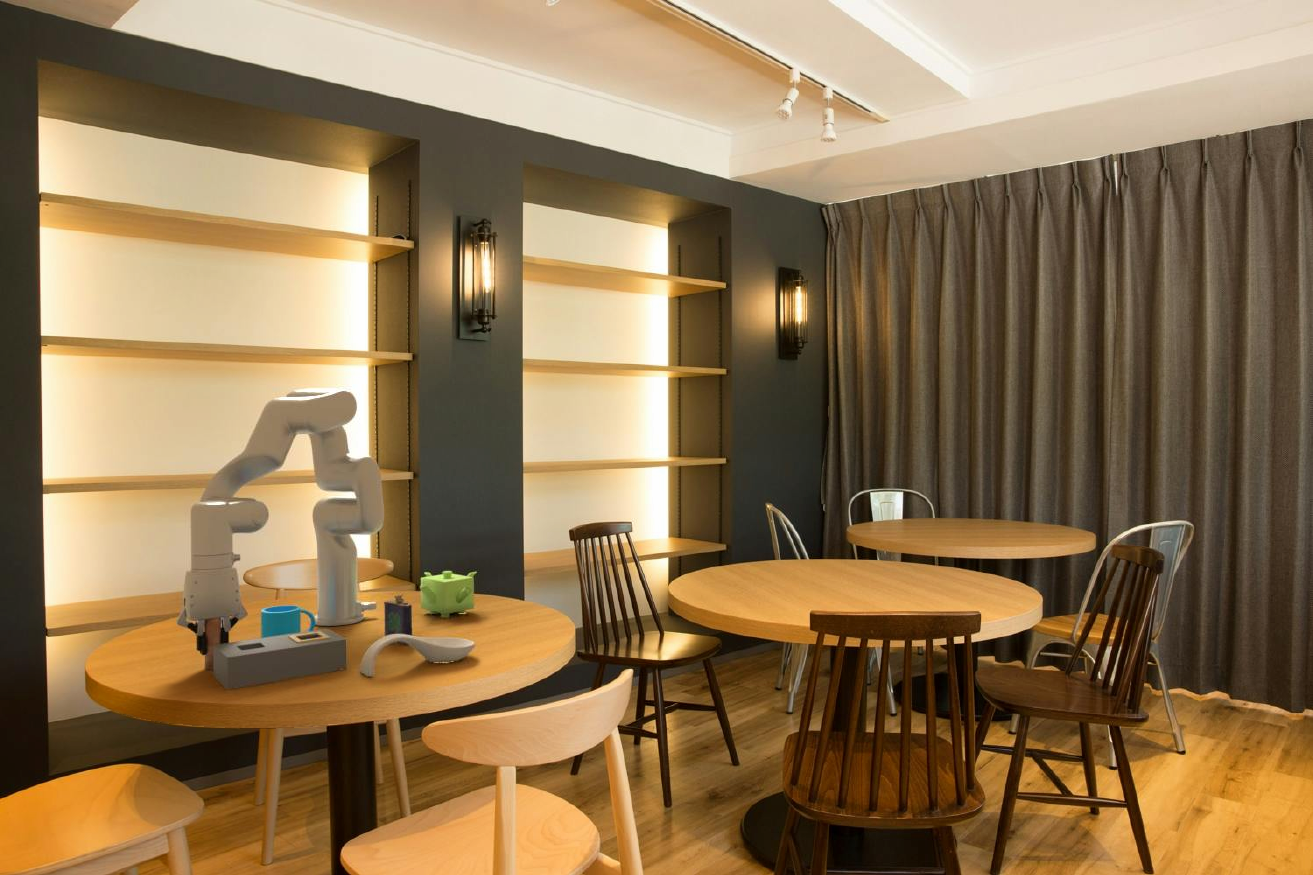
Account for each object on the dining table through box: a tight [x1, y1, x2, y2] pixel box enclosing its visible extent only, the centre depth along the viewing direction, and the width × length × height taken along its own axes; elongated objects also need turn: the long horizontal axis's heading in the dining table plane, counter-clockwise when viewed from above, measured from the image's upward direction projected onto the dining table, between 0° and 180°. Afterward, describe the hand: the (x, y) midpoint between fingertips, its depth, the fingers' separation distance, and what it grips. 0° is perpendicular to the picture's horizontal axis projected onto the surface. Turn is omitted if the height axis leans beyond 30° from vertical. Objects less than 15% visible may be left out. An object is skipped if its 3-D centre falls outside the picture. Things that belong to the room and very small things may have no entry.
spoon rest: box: [359, 634, 476, 678], centre depth 176 cm, size 24×12×7 cm, turn 133°
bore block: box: [212, 628, 348, 690], centre depth 170 cm, size 22×12×6 cm, turn 129°
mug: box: [260, 604, 316, 638], centre depth 193 cm, size 12×8×8 cm
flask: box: [383, 594, 413, 646], centre depth 195 cm, size 9×3×11 cm, turn 50°
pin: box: [204, 618, 221, 670], centre depth 173 cm, size 3×3×10 cm
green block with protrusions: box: [419, 570, 477, 618], centre depth 224 cm, size 15×14×11 cm
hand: (212, 651), depth 173 cm, fingers closed on pin, 3 cm apart
